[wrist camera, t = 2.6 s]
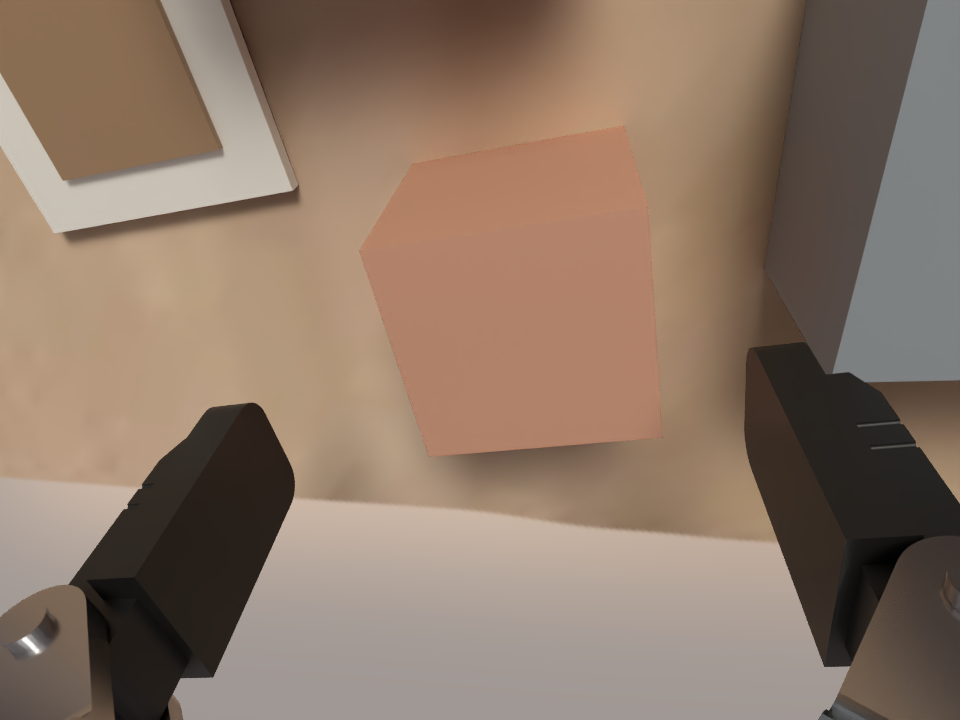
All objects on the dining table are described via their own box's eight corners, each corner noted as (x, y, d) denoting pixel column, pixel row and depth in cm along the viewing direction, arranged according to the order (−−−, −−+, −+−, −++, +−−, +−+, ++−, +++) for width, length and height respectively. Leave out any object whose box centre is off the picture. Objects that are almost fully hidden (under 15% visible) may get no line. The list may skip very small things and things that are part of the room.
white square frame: (165, -170, 12) (148, -174, 12) (298, 185, 16) (289, 193, 15) (-121, -78, 13) (-147, -78, 13) (63, 227, 17) (49, 236, 17)
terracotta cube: (623, 124, 14) (648, 206, 10) (638, 313, 17) (662, 437, 13) (413, 162, 15) (359, 250, 11) (459, 335, 18) (429, 456, 14)
